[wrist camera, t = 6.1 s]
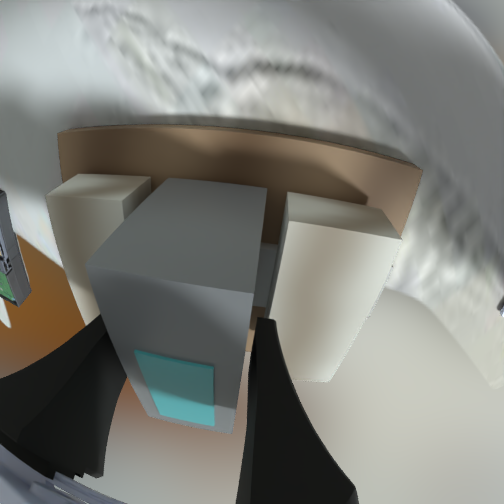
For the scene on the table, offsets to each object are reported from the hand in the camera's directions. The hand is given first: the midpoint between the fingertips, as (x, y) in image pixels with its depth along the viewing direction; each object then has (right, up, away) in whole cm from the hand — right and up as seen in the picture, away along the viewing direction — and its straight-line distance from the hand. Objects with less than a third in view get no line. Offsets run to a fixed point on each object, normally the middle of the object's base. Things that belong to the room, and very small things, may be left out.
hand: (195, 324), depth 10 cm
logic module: (0, +2, +3) cm, 3 cm away
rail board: (0, +3, +4) cm, 5 cm away
